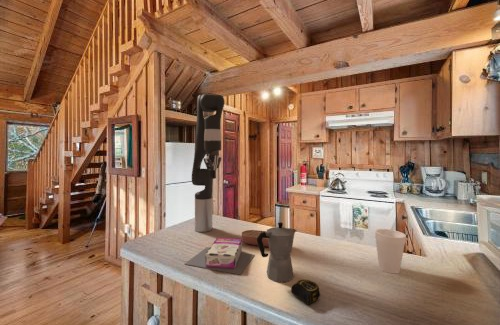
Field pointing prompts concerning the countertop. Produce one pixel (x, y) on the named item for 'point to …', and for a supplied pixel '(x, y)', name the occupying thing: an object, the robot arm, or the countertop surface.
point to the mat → (240, 266)
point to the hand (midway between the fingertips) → (213, 178)
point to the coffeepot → (278, 252)
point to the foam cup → (390, 249)
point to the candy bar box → (224, 253)
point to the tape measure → (306, 291)
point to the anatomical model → (253, 237)
